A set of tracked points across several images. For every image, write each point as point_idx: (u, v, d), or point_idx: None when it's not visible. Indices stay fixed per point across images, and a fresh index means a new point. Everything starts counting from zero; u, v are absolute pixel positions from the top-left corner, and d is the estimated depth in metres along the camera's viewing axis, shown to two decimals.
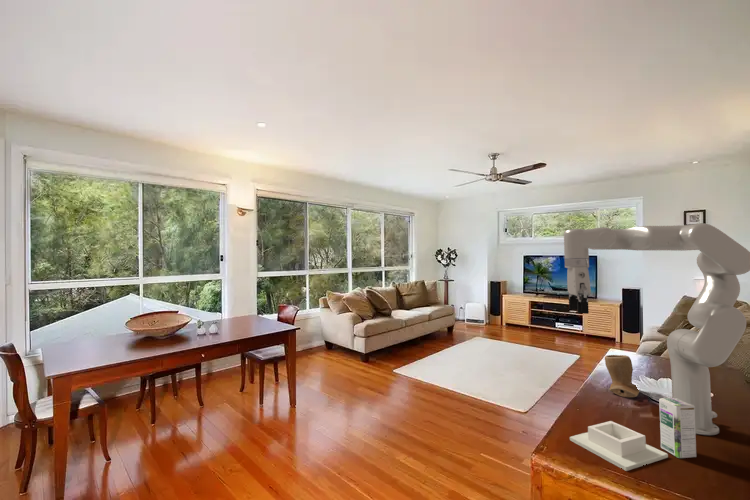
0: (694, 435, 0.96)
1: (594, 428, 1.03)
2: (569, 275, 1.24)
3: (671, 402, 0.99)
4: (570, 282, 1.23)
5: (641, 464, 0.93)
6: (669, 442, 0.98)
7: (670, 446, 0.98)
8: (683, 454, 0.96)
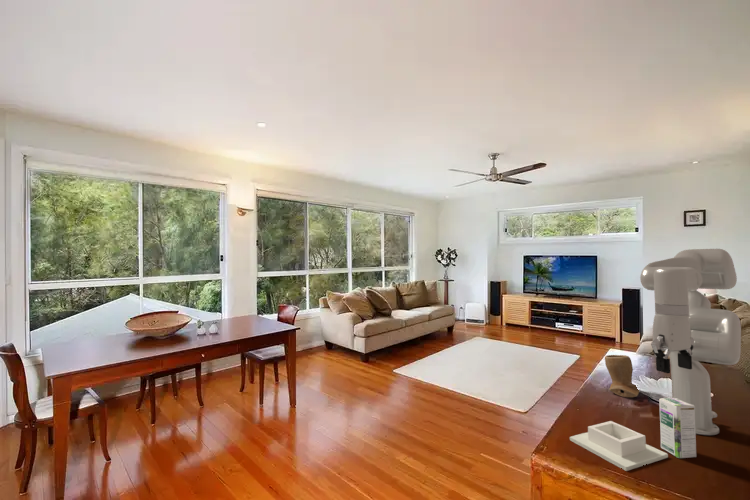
0: (694, 435, 0.96)
1: (594, 428, 1.03)
2: (682, 326, 0.98)
3: (671, 402, 0.99)
4: (684, 335, 0.98)
5: (641, 464, 0.93)
6: (669, 442, 0.98)
7: (670, 446, 0.98)
8: (683, 454, 0.96)
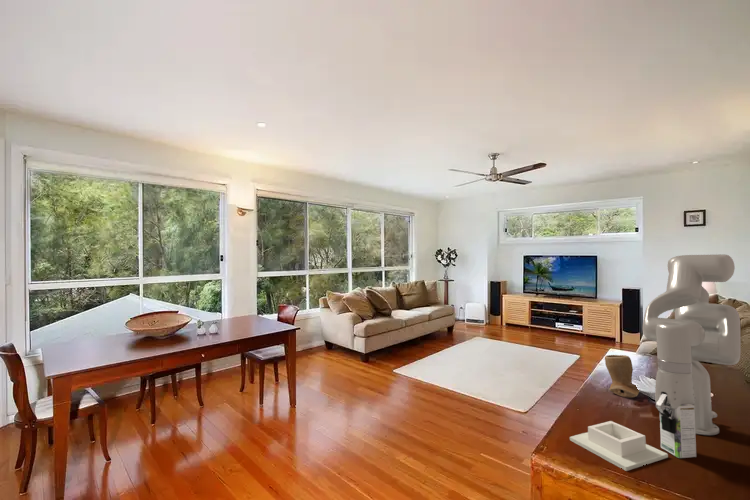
0: (693, 435, 0.96)
1: (594, 428, 1.03)
2: (685, 384, 0.97)
3: None
4: (687, 392, 0.97)
5: (641, 464, 0.93)
6: (669, 442, 0.98)
7: (670, 446, 0.98)
8: (683, 454, 0.96)
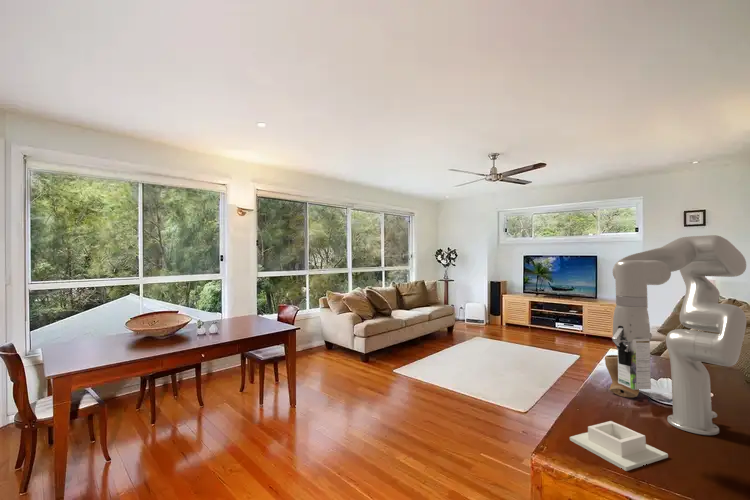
0: (648, 368, 0.99)
1: (594, 428, 1.03)
2: (641, 318, 0.99)
3: None
4: (642, 326, 1.00)
5: (641, 464, 0.93)
6: (625, 375, 1.00)
7: (626, 380, 1.00)
8: (638, 386, 0.98)
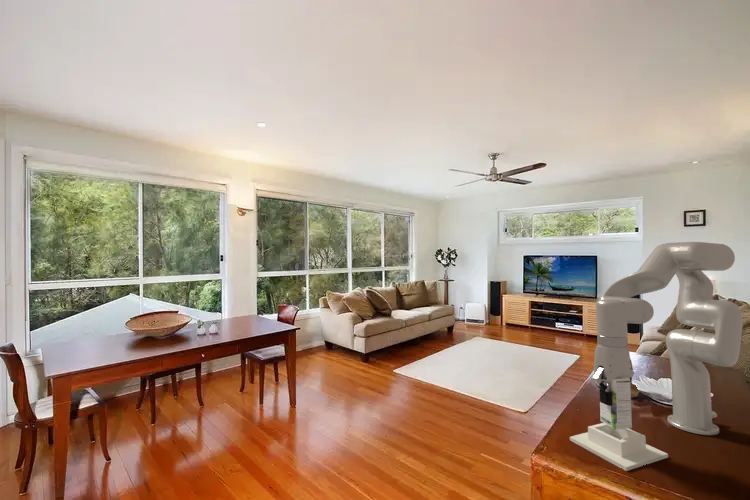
0: (629, 407, 0.99)
1: (594, 428, 1.03)
2: (621, 357, 1.00)
3: None
4: (623, 366, 1.00)
5: (641, 464, 0.93)
6: (607, 414, 1.01)
7: (607, 419, 1.01)
8: (619, 425, 0.99)
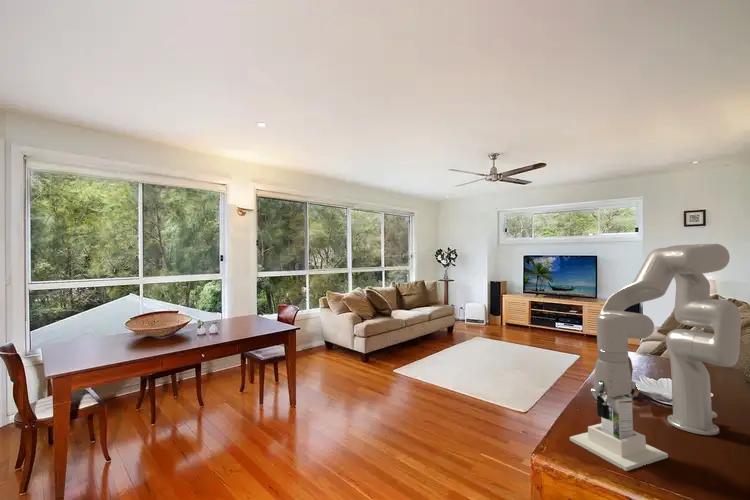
0: (631, 427, 0.99)
1: (594, 428, 1.03)
2: (621, 373, 1.00)
3: None
4: (623, 381, 1.00)
5: (641, 464, 0.93)
6: (609, 434, 1.01)
7: None
8: None
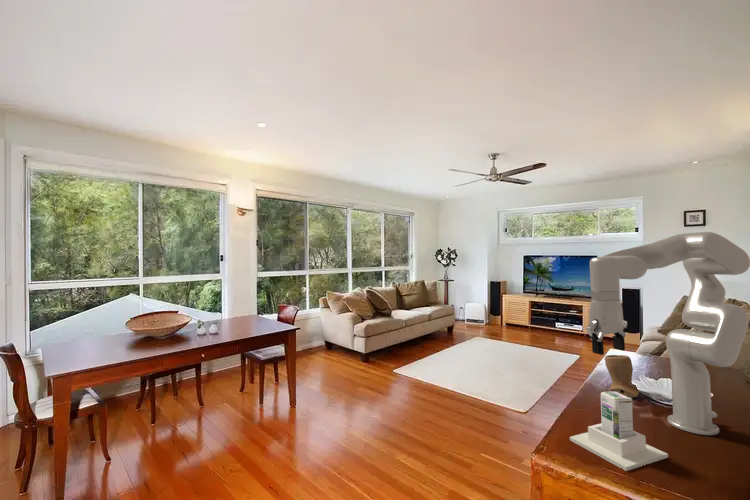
0: (631, 427, 0.99)
1: (594, 428, 1.03)
2: (614, 311, 1.05)
3: (611, 396, 1.01)
4: (616, 319, 1.06)
5: (641, 464, 0.93)
6: (609, 434, 1.01)
7: None
8: None
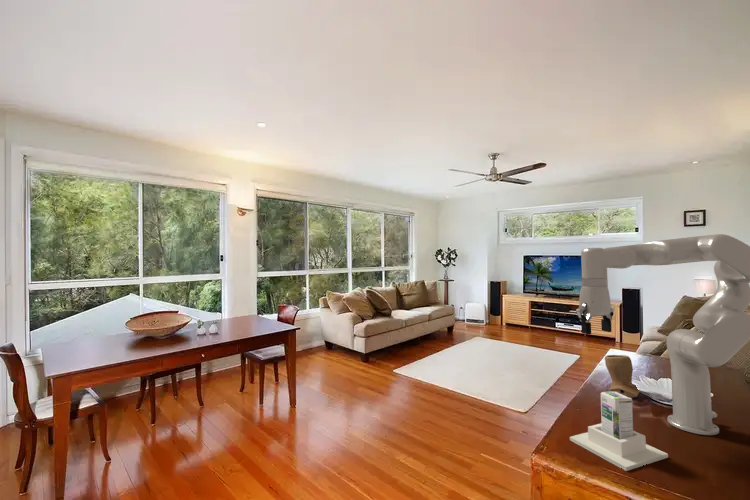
0: (631, 427, 0.99)
1: (594, 428, 1.03)
2: (602, 296, 1.18)
3: (611, 396, 1.01)
4: (603, 303, 1.18)
5: (641, 464, 0.93)
6: (609, 434, 1.01)
7: None
8: None
